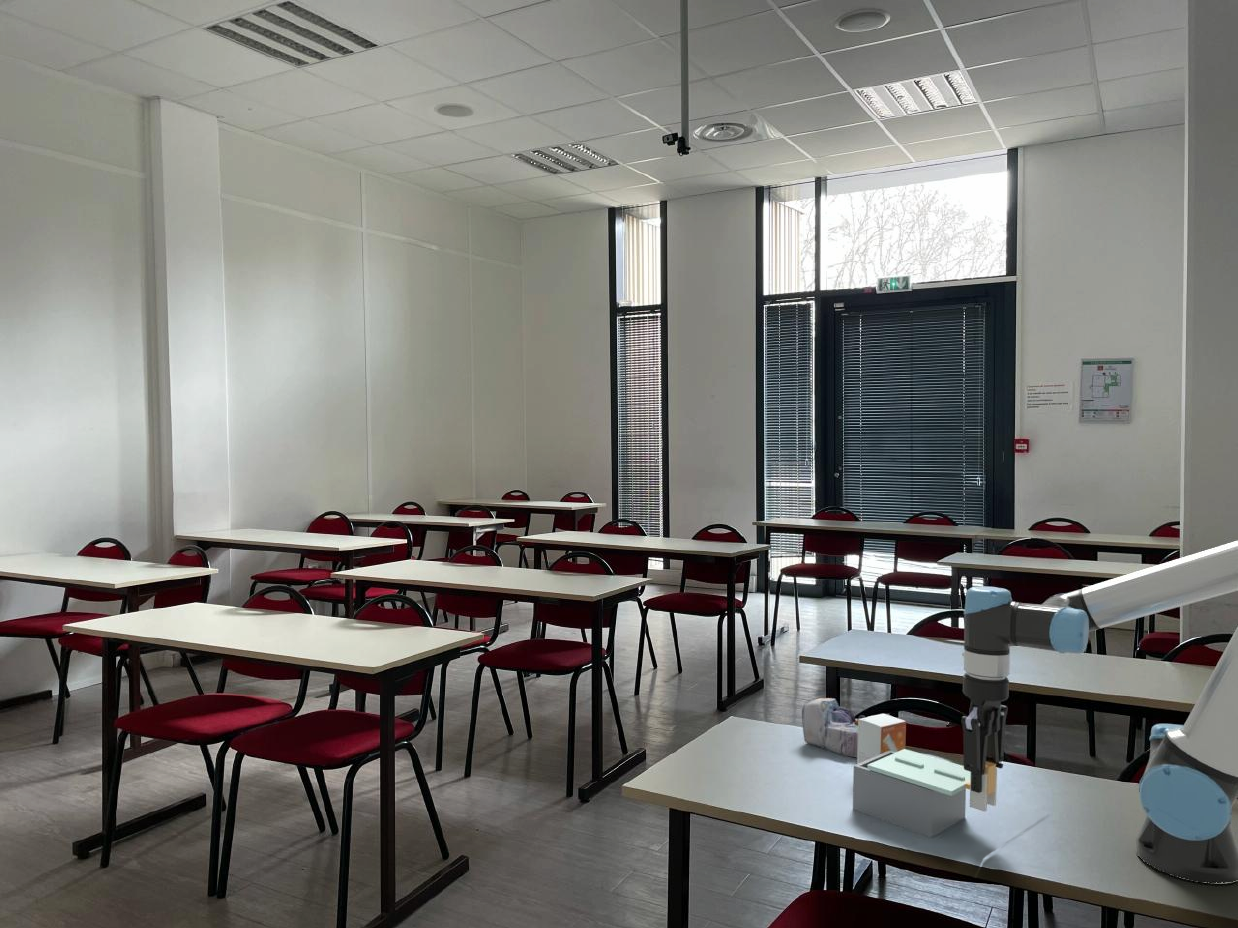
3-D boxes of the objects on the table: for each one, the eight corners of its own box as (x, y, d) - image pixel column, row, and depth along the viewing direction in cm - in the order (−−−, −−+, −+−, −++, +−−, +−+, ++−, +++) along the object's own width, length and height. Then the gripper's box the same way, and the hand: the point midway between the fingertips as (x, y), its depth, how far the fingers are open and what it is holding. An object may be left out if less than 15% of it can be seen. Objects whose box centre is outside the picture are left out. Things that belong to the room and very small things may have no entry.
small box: (879, 789, 177) (881, 726, 177) (855, 779, 182) (857, 718, 182) (905, 781, 182) (906, 720, 181) (881, 772, 187) (882, 712, 187)
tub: (965, 820, 163) (966, 773, 163) (931, 840, 154) (932, 790, 154) (888, 794, 175) (889, 750, 174) (852, 812, 166) (853, 765, 166)
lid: (1008, 783, 157) (1008, 756, 157) (973, 802, 148) (974, 775, 148) (904, 752, 172) (904, 728, 172) (867, 768, 163) (867, 743, 163)
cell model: (814, 689, 212) (897, 705, 202) (812, 732, 213) (895, 750, 202) (795, 701, 201) (882, 718, 191) (793, 747, 202) (879, 767, 191)
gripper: (985, 663, 161) (982, 788, 162) (943, 677, 151) (940, 811, 151) (1026, 671, 156) (1023, 800, 156) (986, 686, 145) (983, 825, 145)
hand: (982, 805), depth 154 cm, fingers closed on lid, 3 cm apart
